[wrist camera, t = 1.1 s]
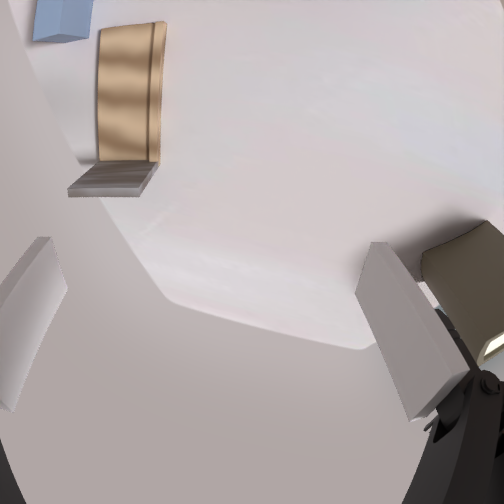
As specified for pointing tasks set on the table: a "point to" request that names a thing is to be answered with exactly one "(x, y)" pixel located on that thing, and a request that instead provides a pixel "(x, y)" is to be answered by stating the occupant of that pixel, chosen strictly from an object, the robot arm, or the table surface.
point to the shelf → (127, 111)
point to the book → (471, 287)
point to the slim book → (62, 20)
